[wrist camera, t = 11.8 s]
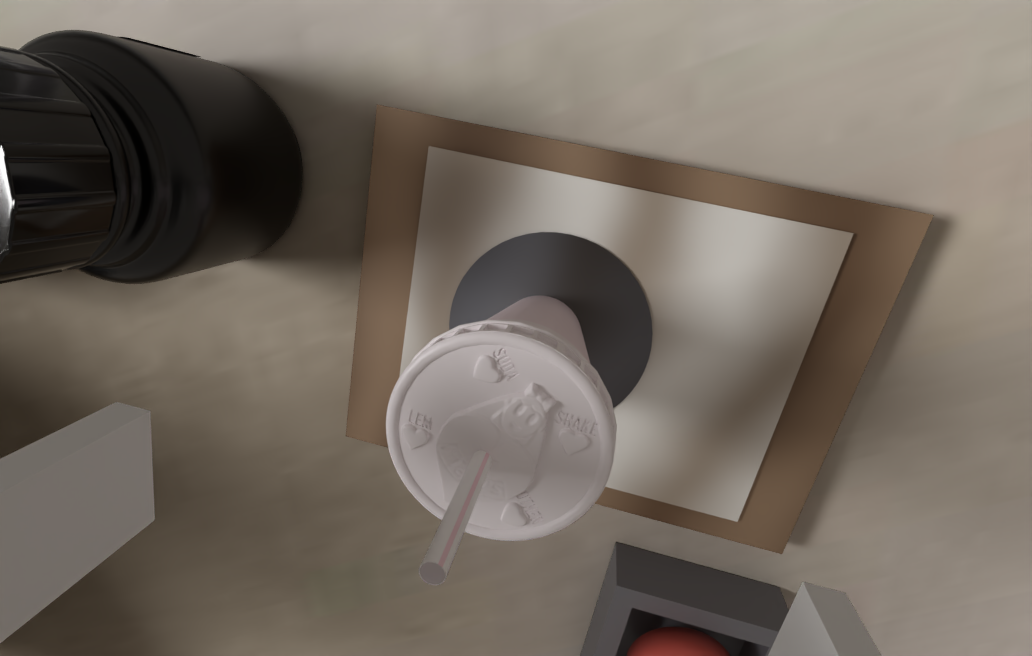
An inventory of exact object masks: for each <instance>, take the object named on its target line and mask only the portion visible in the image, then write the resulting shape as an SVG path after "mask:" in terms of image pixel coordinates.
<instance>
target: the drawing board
mask: <svg viewBox="0 0 1032 656" xmlns="http://www.w3.org/2000/svg"><path fill="white" fill-rule="evenodd" d="M933 216H934V215H930V214H925V213H920V212H915V211H910V210H905V209H900V208H895V207H890V206H885V205H880V204H875V203H870V202H865V201H860V200H855V199H850V198H845V197H840V196H835V195H829V194H824V193H819V192H814V191H809V190H804V189H799V188H794V187H789V186H784V185H779V184H774V183H769V182H764V181H759V180H754V179H749V178H744V177H739V176H734V175H729V174H724V173H719V172H714V171H709V170H704V169H699V168H694V167H689V166H684V165H679V164H674V163H669V162H664V161H659V160H654V159H649V158H643V157H638V156H633V155H628V154H623V153H618V152H613V151H608V150H603V149H598V148H593V147H588V146H583V145H578V144H573V143H568V142H563V141H558V140H553V139H548V138H543V137H538V136H533V135H528V134H523V133H518V132H513V131H508V130H503V129H498V128H493V127H488V126H483V125H478V124H473V123H468V122H463V121H457V120H452V119H447V118H442V117H437V116H432V115H427V114H422V113H417V112H412V111H407V110H402V109H397V108H392V107H387V106H382V105H377V109H376V119H375V130H374V141H373V151H372V162H371V173H370V183H369V194H368V205H367V215H366V226H365V236H364V247H363V258H362V268H361V279H360V290H359V300H358V311H357V322H356V332H355V343H354V354H353V364H352V375H351V386H350V396H349V407H348V417H347V428H346V436H348V437H351V438H355V439H359V440H362V441H366V442H370V443H373V444H377V445H381V446H384V447H388V444H387V437H386V414H387V408H388V403H389V400H390V396H391V393H392V391H393V389H394V386H395V384H396V382H397V381H398V379H399V377H400V376H401V374H402V373H403V371H404V370H405V369H406V367H407V366H408V365H409V364H410V363H411V361H412V359H413V358H414V356H415V355H416V354H417V353H418V352H419V351H421V350H422V349H423V348H424V347H425V346H426V345H427V344H428V343H429V342H430V341H431V340H432V339H433V338H435V337H437V336H439V335H441V334H443V333H445V332H447V331H449V330H451V329H453V328H455V327H457V326H459V325H463V324H468V323H473V322H478V321H483V320H487V319H489V318H490V317H492V316H494V315H495V314H497V313H499V312H500V311H502V310H504V309H505V308H507V307H509V306H510V305H512V304H514V303H516V302H517V301H519V300H521V299H523V298H526V297H530V296H538V295H541V296H548V297H552V298H555V299H557V300H559V301H561V302H563V303H564V304H565V305H567V306H568V307H569V308H570V309H571V310H572V311H573V313H574V314H575V315H576V317H577V319H578V321H579V323H580V326H581V330H582V334H583V338H584V342H585V345H586V349H587V353H588V357H589V361H590V364H591V365H592V366H593V367H594V368H595V369H596V370H597V372H598V374H599V376H600V378H601V379H602V381H603V383H604V385H605V387H606V389H607V391H608V393H609V395H610V397H611V400H612V404H613V409H614V414H615V419H616V424H617V431H616V443H615V453H614V460H613V465H612V470H611V473H610V476H609V479H608V482H607V484H606V486H605V488H604V490H603V492H602V494H601V495H600V497H599V498H598V500H597V501H596V502H595V504H599V505H602V506H606V507H610V508H614V509H617V510H621V511H625V512H628V513H632V514H636V515H639V516H643V517H647V518H651V519H654V520H658V521H662V522H665V523H669V524H673V525H676V526H680V527H684V528H687V529H691V530H695V531H699V532H702V533H706V534H710V535H713V536H717V537H721V538H724V539H728V540H732V541H735V542H739V543H743V544H747V545H750V546H754V547H758V548H761V549H765V550H769V551H772V552H776V553H780V554H782V553H783V551H784V548H785V546H786V544H787V542H788V539H789V537H790V535H791V533H792V531H793V528H794V526H795V524H796V522H797V519H798V517H799V515H800V513H801V510H802V508H803V506H804V504H805V502H806V499H807V497H808V495H809V493H810V490H811V488H812V486H813V484H814V481H815V479H816V477H817V475H818V473H819V470H820V468H821V466H822V464H823V461H824V459H825V457H826V455H827V452H828V450H829V448H830V446H831V444H832V441H833V439H834V437H835V435H836V432H837V430H838V428H839V426H840V423H841V421H842V419H843V417H844V415H845V412H846V410H847V408H848V406H849V403H850V401H851V399H852V397H853V394H854V392H855V390H856V388H857V385H858V383H859V381H860V379H861V377H862V374H863V372H864V370H865V368H866V365H867V363H868V361H869V359H870V356H871V354H872V352H873V350H874V348H875V345H876V343H877V341H878V339H879V336H880V334H881V332H882V330H883V327H884V325H885V323H886V321H887V319H888V316H889V314H890V312H891V310H892V307H893V305H894V303H895V301H896V298H897V296H898V294H899V292H900V290H901V287H902V285H903V283H904V281H905V278H906V276H907V274H908V272H909V269H910V267H911V265H912V263H913V261H914V258H915V256H916V254H917V252H918V249H919V247H920V245H921V243H922V240H923V238H924V236H925V234H926V232H927V229H928V227H929V225H930V223H931V220H932V218H933Z"/></svg>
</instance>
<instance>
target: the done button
mask: <svg viewBox="0 0 1032 656" xmlns="http://www.w3.org/2000/svg"><path fill="white" fill-rule="evenodd" d="M626 656H730V654H729V653H728V651H727V650H726V649H725V647H724V646H723V645H721V644H720V643H719V642H718V641H717V640H715V639H714V638H712V637H711V636H709V635H707V634H705V633H703V632H700V631H698V630H695V629H690V628H685V627H663V628H658V629H654V630H651V631H649V632H646V633H645V634H643V635H641V636H640V637H639V638H637V639H636V640H635V641H634V642H633V643H632V645H631V646H630V648H629V650H628V652H627V655H626Z"/></svg>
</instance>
